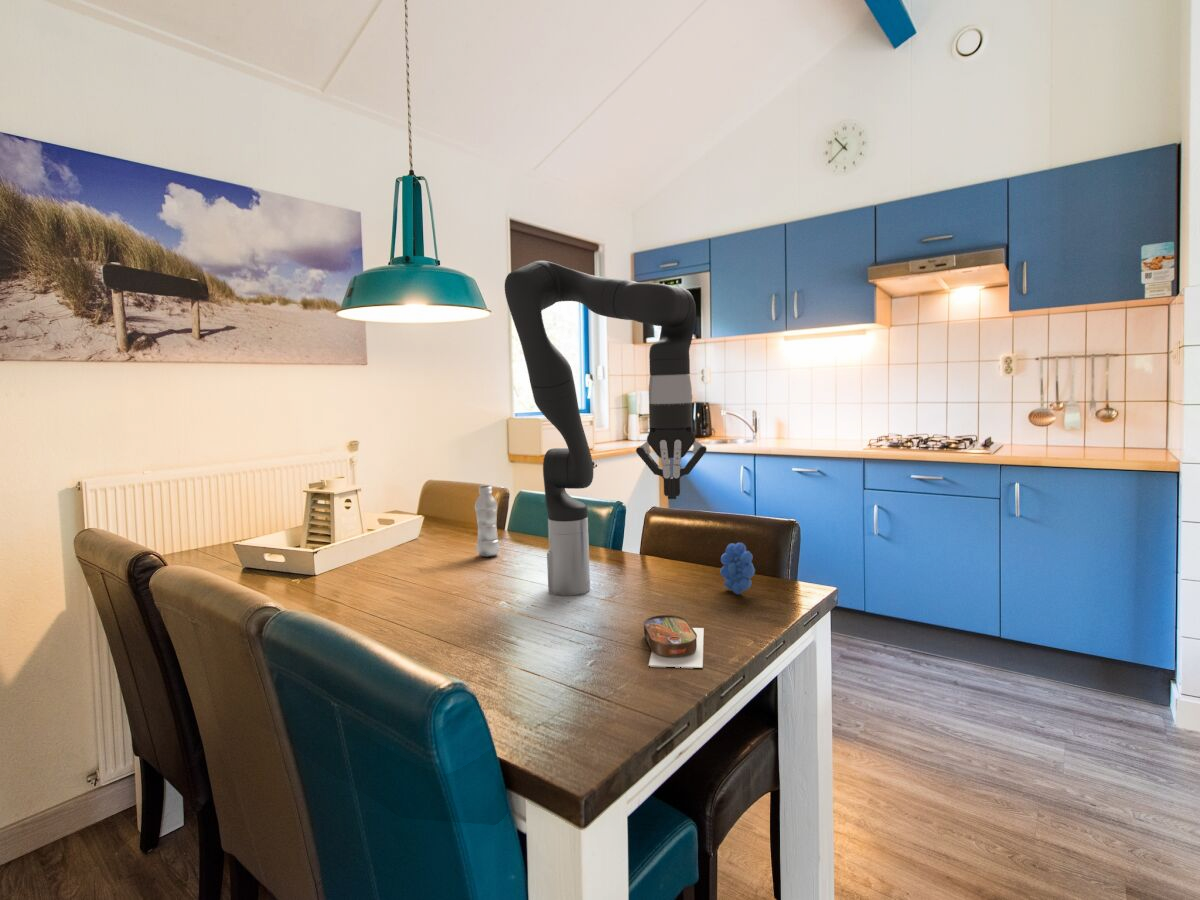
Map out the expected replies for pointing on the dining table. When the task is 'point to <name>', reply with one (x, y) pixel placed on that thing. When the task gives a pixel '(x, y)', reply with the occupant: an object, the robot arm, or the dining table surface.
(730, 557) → the grapes
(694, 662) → the mat
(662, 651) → the tin
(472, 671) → the dining table surface
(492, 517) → the plastic bottle
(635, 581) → the dining table surface
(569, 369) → the robot arm
